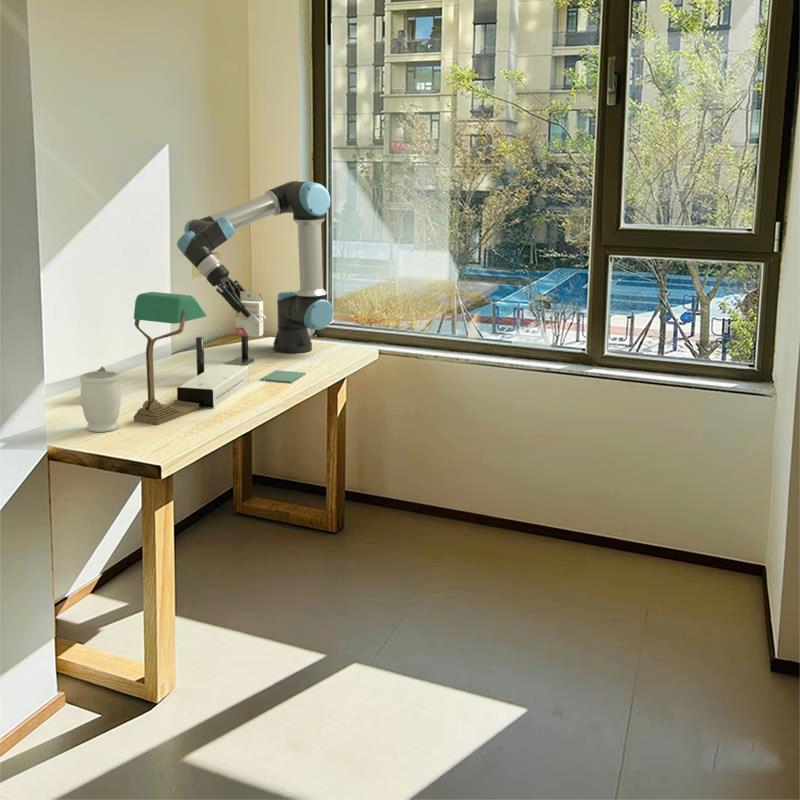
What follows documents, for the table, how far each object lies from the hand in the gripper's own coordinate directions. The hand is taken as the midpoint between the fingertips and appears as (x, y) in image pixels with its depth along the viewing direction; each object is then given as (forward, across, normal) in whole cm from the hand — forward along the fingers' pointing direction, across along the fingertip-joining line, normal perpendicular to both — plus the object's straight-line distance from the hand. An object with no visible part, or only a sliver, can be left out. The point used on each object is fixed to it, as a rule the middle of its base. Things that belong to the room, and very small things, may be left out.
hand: (259, 321), depth 315 cm
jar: (+2, +74, -24) cm, 78 cm away
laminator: (+11, +29, -16) cm, 35 cm away
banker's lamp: (+9, +55, -17) cm, 59 cm away
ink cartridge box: (+1, 0, -6) cm, 6 cm away
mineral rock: (-10, +44, -36) cm, 58 cm away
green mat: (+19, 0, -7) cm, 21 cm away
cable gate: (+4, 0, -23) cm, 23 cm away
